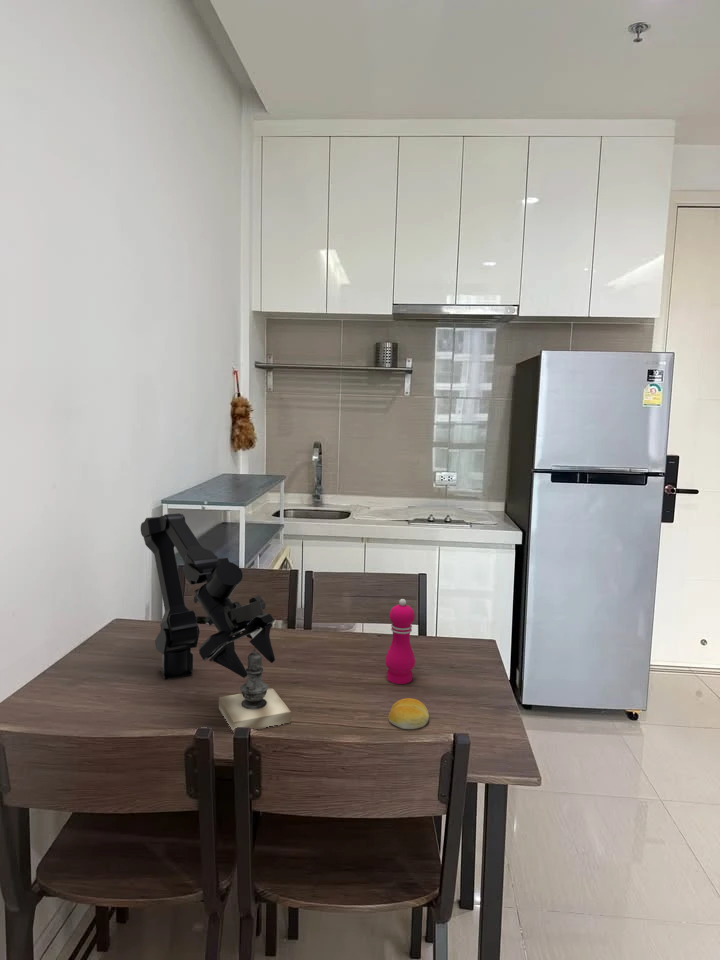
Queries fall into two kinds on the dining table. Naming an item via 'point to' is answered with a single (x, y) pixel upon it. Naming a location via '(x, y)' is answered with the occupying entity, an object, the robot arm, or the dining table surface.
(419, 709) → the bread roll
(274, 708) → the plate
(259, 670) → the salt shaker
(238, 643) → the dining table surface
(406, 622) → the pepper mill
